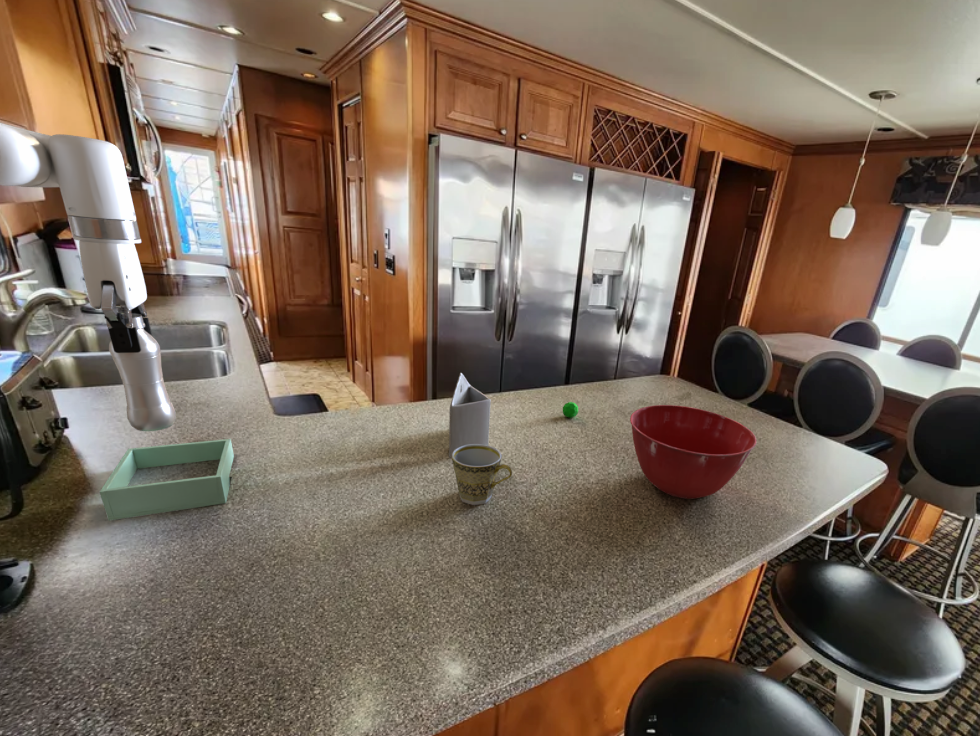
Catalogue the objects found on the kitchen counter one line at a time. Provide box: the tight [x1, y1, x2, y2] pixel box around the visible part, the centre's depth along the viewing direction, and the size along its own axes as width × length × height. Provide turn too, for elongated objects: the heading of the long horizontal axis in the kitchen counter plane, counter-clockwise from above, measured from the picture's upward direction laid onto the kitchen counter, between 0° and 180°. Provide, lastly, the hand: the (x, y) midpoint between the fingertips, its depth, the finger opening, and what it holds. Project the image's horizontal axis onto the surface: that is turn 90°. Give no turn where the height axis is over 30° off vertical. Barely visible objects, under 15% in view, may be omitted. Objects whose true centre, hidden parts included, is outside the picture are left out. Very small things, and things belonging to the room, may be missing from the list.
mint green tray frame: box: [99, 438, 235, 522], centre depth 88 cm, size 17×17×6 cm
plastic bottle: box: [108, 313, 177, 432], centre depth 78 cm, size 6×7×20 cm
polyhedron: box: [562, 401, 579, 419], centre depth 143 cm, size 5×5×5 cm
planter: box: [448, 372, 492, 459], centre depth 115 cm, size 16×8×19 cm, turn 175°
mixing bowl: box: [629, 404, 757, 500], centre depth 108 cm, size 28×28×16 cm
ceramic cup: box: [451, 444, 513, 506], centre depth 95 cm, size 13×10×10 cm
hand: (134, 345), depth 76 cm, fingers closed on plastic bottle, 6 cm apart
